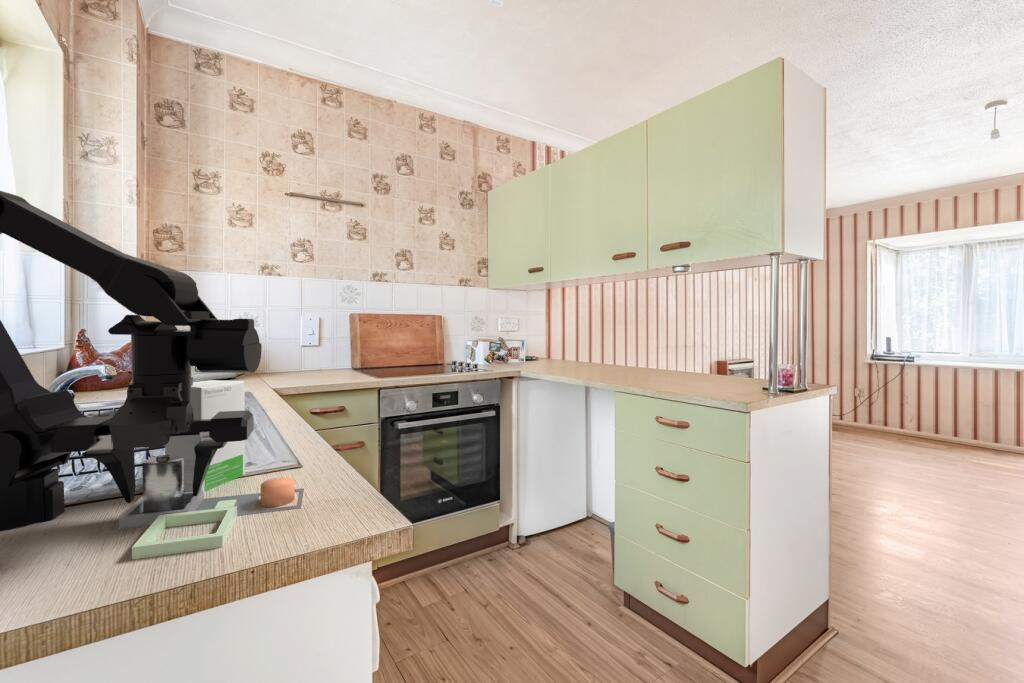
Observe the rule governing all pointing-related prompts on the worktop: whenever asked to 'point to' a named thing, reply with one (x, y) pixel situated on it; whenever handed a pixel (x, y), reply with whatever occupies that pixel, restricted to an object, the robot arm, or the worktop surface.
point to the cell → (163, 484)
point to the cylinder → (277, 492)
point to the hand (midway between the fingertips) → (163, 498)
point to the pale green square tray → (153, 548)
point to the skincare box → (205, 406)
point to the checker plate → (199, 508)
